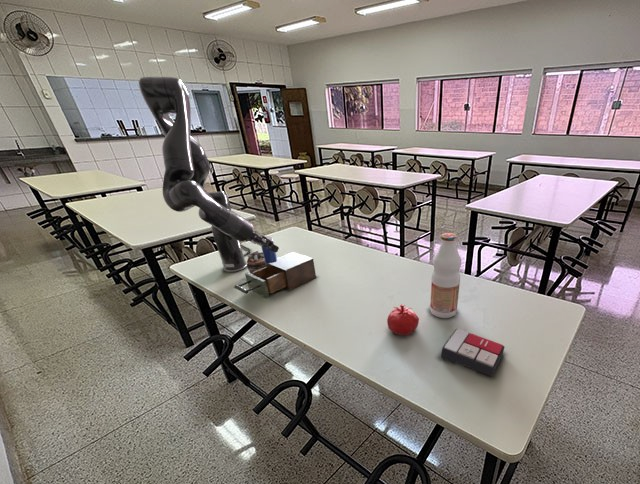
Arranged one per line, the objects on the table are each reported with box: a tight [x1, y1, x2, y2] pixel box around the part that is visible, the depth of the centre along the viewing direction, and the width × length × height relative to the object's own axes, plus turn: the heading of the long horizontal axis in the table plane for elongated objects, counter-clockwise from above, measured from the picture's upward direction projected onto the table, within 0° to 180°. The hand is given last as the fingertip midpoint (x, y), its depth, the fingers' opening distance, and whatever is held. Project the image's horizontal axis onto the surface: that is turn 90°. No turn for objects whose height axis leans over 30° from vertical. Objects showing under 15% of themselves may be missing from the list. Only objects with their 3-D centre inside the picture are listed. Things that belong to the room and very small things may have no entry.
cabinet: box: [266, 251, 317, 291], centre depth 132 cm, size 14×13×9 cm
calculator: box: [440, 328, 505, 377], centre depth 91 cm, size 11×4×15 cm
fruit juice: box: [429, 232, 462, 319], centre depth 105 cm, size 9×9×28 cm
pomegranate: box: [386, 304, 420, 336], centre depth 101 cm, size 10×10×9 cm
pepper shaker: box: [260, 235, 278, 263], centre depth 118 cm, size 4×4×9 cm
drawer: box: [233, 266, 287, 299], centre depth 122 cm, size 19×12×7 cm, turn 144°
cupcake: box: [246, 250, 266, 275], centre depth 135 cm, size 10×10×10 cm
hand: (273, 248), depth 119 cm, fingers closed on pepper shaker, 4 cm apart
